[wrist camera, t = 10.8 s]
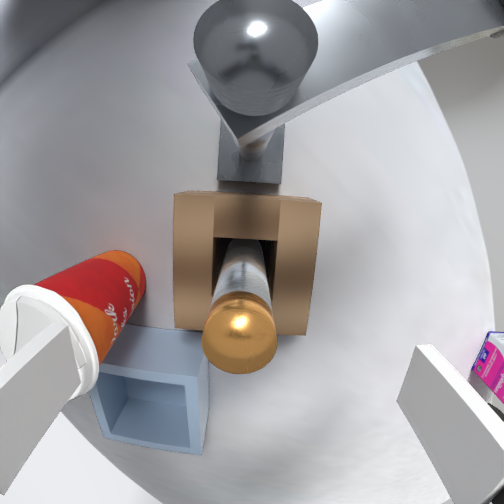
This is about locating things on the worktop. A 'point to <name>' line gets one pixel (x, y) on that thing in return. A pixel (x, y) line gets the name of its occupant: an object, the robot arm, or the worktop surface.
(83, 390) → the paper cup
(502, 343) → the supplement box
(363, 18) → the grey tall angled piece
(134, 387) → the blue open box
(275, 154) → the base
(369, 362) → the worktop surface
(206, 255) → the socket block
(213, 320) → the pin
